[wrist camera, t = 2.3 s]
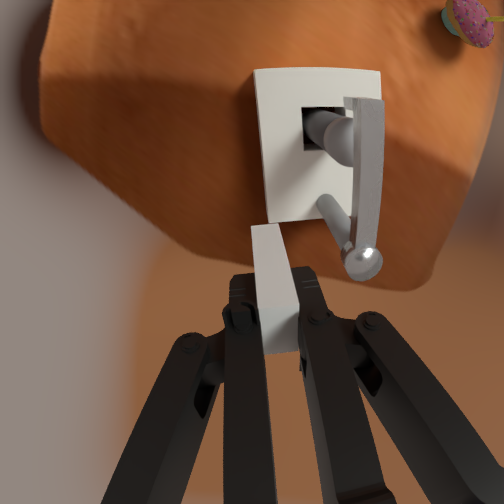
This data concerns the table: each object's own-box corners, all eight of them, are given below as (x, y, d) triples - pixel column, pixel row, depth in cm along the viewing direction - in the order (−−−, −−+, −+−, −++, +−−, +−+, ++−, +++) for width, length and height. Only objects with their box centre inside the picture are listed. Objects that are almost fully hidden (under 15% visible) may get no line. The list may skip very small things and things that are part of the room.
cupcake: (457, -4, 19) (509, -11, 8) (478, 44, 23) (533, 48, 13) (421, -1, 21) (476, -14, 10) (446, 51, 25) (504, 54, 15)
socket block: (252, 71, 28) (261, 58, 16) (366, 72, 28) (436, 72, 15) (266, 209, 38) (279, 278, 25) (365, 201, 37) (417, 261, 25)
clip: (334, 96, 19) (353, 98, 15) (372, 97, 19) (396, 101, 15) (333, 257, 26) (345, 283, 23) (364, 253, 26) (379, 278, 23)
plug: (297, 108, 31) (327, 118, 20) (331, 107, 31) (375, 119, 20) (300, 141, 33) (328, 168, 22) (332, 139, 33) (374, 166, 22)
